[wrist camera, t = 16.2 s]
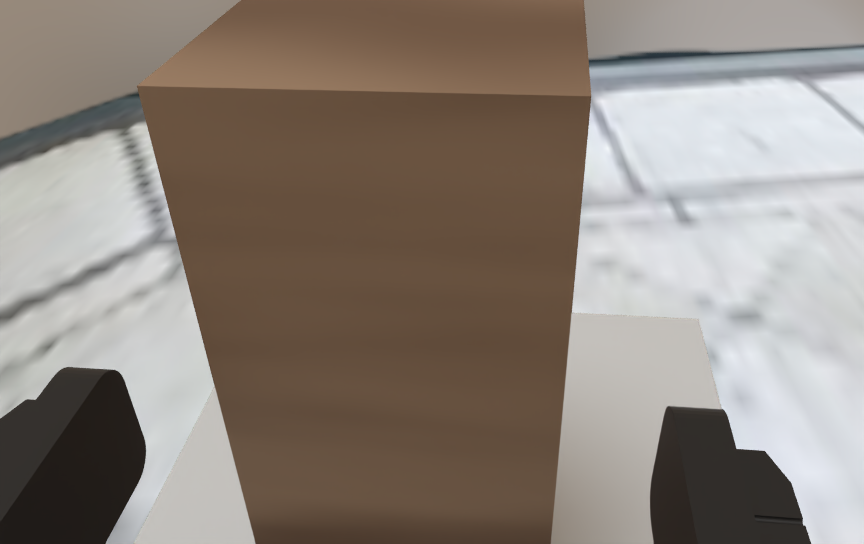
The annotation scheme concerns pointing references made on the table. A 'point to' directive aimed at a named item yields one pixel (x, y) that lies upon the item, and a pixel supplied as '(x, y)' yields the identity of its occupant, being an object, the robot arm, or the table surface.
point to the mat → (578, 453)
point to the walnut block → (383, 256)
